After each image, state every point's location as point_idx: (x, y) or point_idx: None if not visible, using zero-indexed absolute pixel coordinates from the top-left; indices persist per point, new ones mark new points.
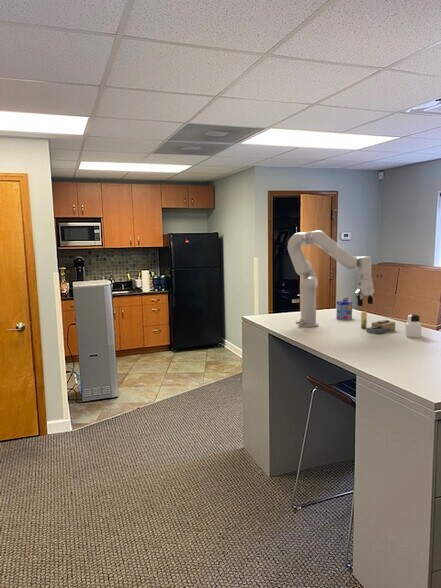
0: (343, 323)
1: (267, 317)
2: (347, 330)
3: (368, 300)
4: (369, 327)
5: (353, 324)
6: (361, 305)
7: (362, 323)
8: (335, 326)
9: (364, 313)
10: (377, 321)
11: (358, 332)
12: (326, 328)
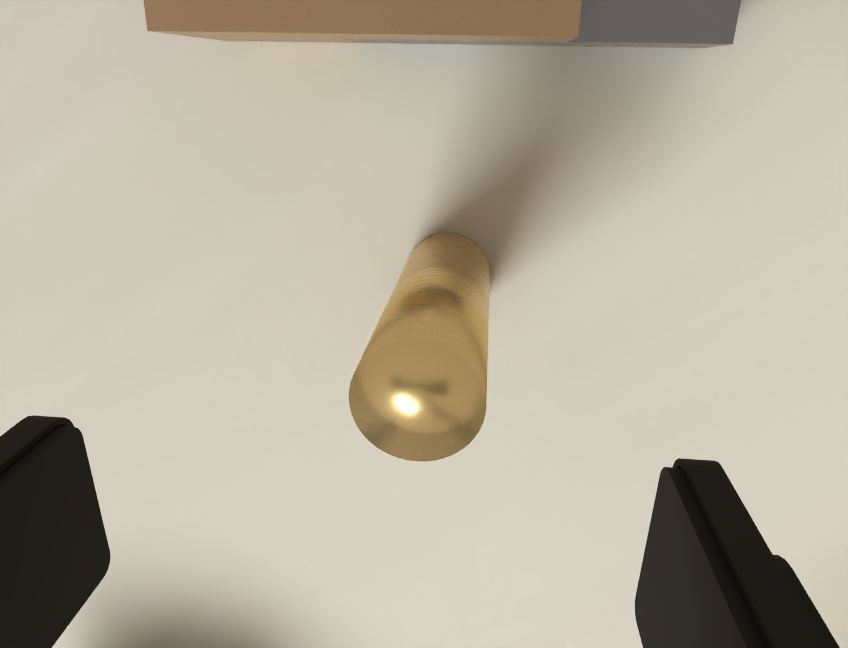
0: (390, 612)
1: None
2: (780, 347)
3: (31, 630)
4: (659, 28)
5: (346, 503)
6: (713, 483)
7: (488, 300)
8: (629, 591)
9: (468, 348)
10: (367, 28)
11: (823, 133)
12: (830, 605)
